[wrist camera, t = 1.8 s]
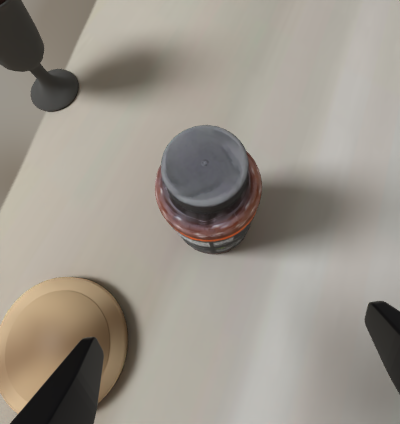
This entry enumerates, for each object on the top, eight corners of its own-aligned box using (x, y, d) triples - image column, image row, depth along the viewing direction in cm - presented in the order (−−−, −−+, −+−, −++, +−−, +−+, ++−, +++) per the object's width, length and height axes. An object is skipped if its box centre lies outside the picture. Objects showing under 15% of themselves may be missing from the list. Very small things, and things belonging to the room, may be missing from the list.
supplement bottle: (211, 173, 24) (203, 81, 13) (263, 218, 23) (303, 156, 12) (163, 221, 23) (112, 166, 12) (214, 271, 22) (208, 257, 11)
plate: (151, 367, 20) (147, 372, 19) (31, 447, 20) (21, 457, 19) (93, 254, 23) (87, 252, 22) (-15, 321, 22) (-26, 322, 21)
